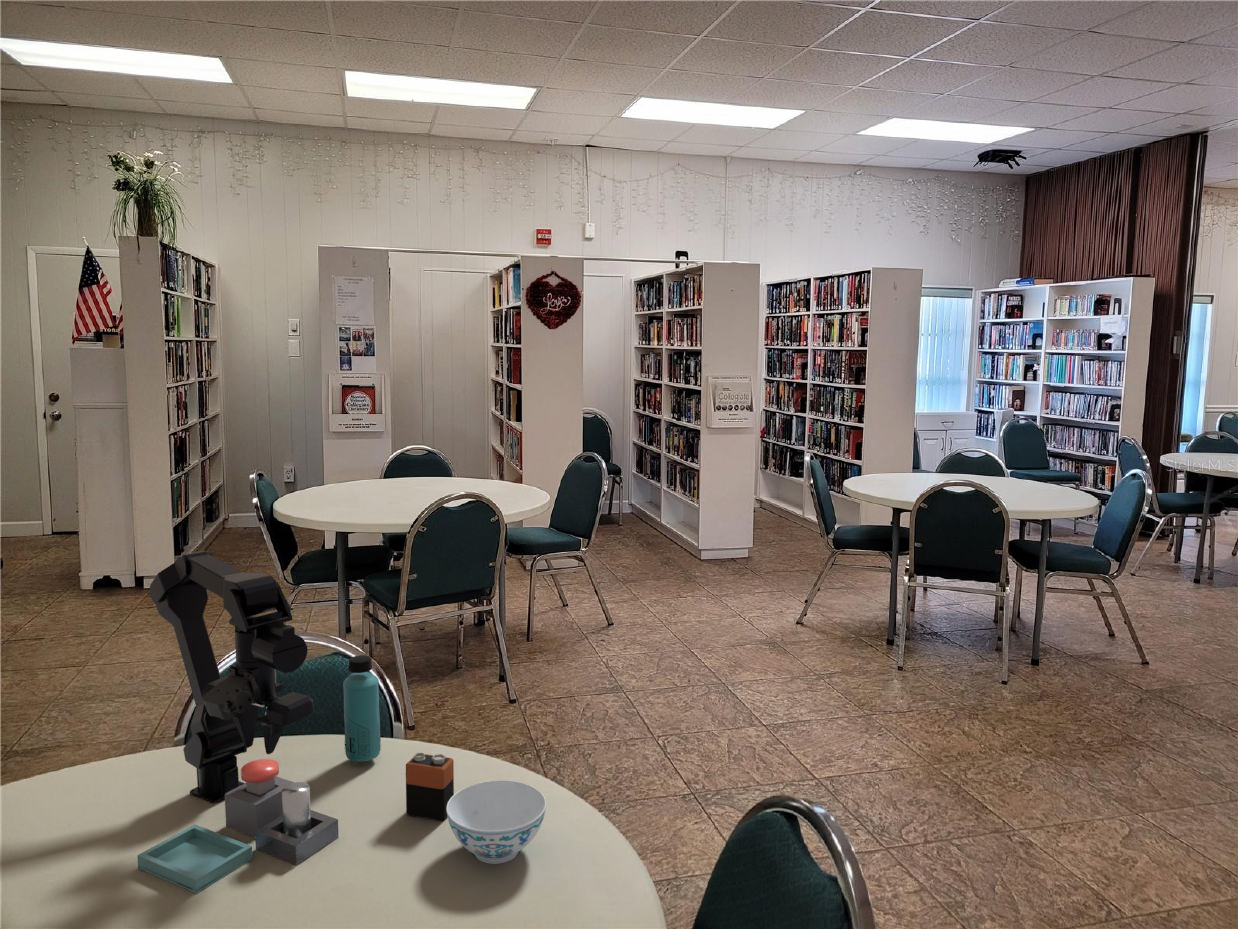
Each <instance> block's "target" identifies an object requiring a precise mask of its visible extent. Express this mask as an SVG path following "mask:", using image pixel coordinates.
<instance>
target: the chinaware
mask: <svg viewBox="0 0 1238 929" xmlns="http://www.w3.org/2000/svg"><path fill="white" fill-rule="evenodd" d="M546 808H547V799H546V797H545V795H544V794H543V792H541V791H540V790H539V789H537V787H534V786H532V785H530V784H527V783H524V782H521V781H516V780H508V779H507V780H506V779H505V780H504V779H500V780H499V779H497V780H496V779H495V780H485V781H480V782H478V783H477V782H476V783H473V784H471V785H467V786H466V787H463V788H461V789H460V790H458V791H457V792H455V793H454V795H453V796H452V797H451V798H450V800H449V801H448V803H447V808H446V811H447V819H448V823H449V826H450V829H451V831H452V833H453V835H454V837H455V838H456V839H457V841H458V842H459V843H460V845H461V846H463V847H464V848H465V849H466V850H468V851H469V852H470V853H472V854H474V856H475V858H476V859H478V860H479V861H480V862H483V863H487V864H492V865H497V864H504V863H507V862H509V861H512V860H513V859H514V858H515V857H517V856H518V854H519V852H520V851H522V850H523V849H524V848H526V847H527V846H528V845H529V844H530V842H532V840H534V838H535V837H536V836H537V834H538V832H539V830H540V828H541V826H542V823H543V820H544V817H545V814H546Z"/></svg>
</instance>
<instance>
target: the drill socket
mask: <svg viewBox="0 0 1238 929" xmlns="http://www.w3.org/2000/svg"><path fill="white" fill-rule="evenodd" d="M310 811H311V830H309V831H308V832H306V833H305V834H303V835H301V836H300V837H298V838H297V839H296V838H293V837H290V836H288V835H285V834H283V815H281V816H280V817H278V818H276V819H275V820H273V821H271V822H270V823H268V824H266V825H264V826H263V827H261V828H259V829H258V830H256V831H255V837H254V838H255V840H254V841H255V850H257V851H259V852H261V853H264V854H267V855H270V856H272V857H274V858H277V859H279V860H282V861H284V862H287V863H289V864H292V865H295V866H297V865H299V864H300V863H302V862H304V861H305V860H306V859H308V858H310V857H311V856H313V855H314V854H315V853H317V852H318V851H320V850H322V849H323V848H325V847H326V846H328V845H329V844H331V843H333V842H334V841H335V840H336V839H338V838H339V819H338V818H335V817H332V816H329V815H326V814H323V813H321V812H318V811H316V810H312V809H310Z"/></svg>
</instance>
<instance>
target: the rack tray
mask: <svg viewBox="0 0 1238 929" xmlns="http://www.w3.org/2000/svg"><path fill="white" fill-rule="evenodd" d="M136 857H137V868H138V869H139V870H142V871H144V872H146V873H148V874H150V875H154V877H155V876H156V877H157V878H160V879H162V880H165V881H167V882H169V883H171V884H174V885H176V886H179V887H181V888H183V889H185V890H188V891H190V892H191V893H194V894H199V893H200V892H201V891H203V890H204V889H206V888H207V887H210V886H211V885H213V884H215V883H216V882H218V881H219V880H220V879H222V878H224V877H226V876H227V875H229V874H230V873H232V872H233V871H235V870H237V869H238V868H240V867H242V866H243V865H245V864H246V863H248V862H249V861H251V860H252V859H253V846H252V845H250V844H247V843H244V842H242V841H239V840H236V839H233V838H232V837H229V836H226V835H223V834H222V833H219V832H215V831H214V830H210V829H208V828H206V827H203V826H200V825H199V824H193V825H190V826H188V827H187V828H185V829H183V830H181V831H179V832H177V833H176V834H174V835H172V836H170V837H169V838H167V839H165V840H163V841H161V842H159V843H158V844H155V845H154V846H152V847H150V848H149V849H148V848H147V849H146V850H144V851H142V852H141V853H139V854H137V855H136Z"/></svg>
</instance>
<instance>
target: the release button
mask: <svg viewBox="0 0 1238 929" xmlns="http://www.w3.org/2000/svg"><path fill="white" fill-rule="evenodd" d="M279 767H280V764H279V763H278V761H277V760H276V759H275V760H274V759H271V758H260V759H255V760H252V761H250V762H248V763H245V764H244V765H243V766H242V767H241V768H240V779H241V780H242V781H243V782H244V783H246V790H247V792H250V793H253V794H256V795H259V796H261V795H263V794H264V793H266V792H268V791H270V790H272V789H274V788H275V777H276V776H277V777H278V775H279V773H280V768H279Z"/></svg>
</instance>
